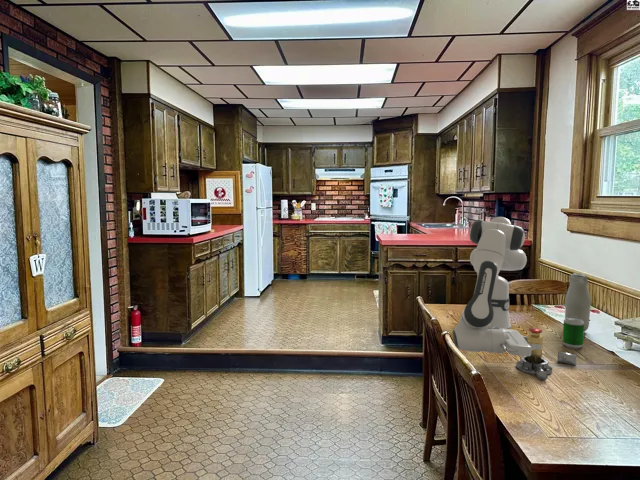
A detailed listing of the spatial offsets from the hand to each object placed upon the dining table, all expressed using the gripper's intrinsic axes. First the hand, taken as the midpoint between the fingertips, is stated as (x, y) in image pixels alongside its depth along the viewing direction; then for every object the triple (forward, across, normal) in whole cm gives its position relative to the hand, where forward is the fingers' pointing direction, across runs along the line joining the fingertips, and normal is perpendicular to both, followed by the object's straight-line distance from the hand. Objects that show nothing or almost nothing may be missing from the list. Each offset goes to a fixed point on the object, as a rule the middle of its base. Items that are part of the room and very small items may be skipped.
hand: (537, 343), depth 158 cm
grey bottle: (+32, +51, +10) cm, 61 cm away
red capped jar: (-1, 0, +6) cm, 6 cm away
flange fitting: (-1, -2, +10) cm, 10 cm away
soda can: (+22, +29, +10) cm, 38 cm away
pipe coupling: (+13, +8, +10) cm, 19 cm away
